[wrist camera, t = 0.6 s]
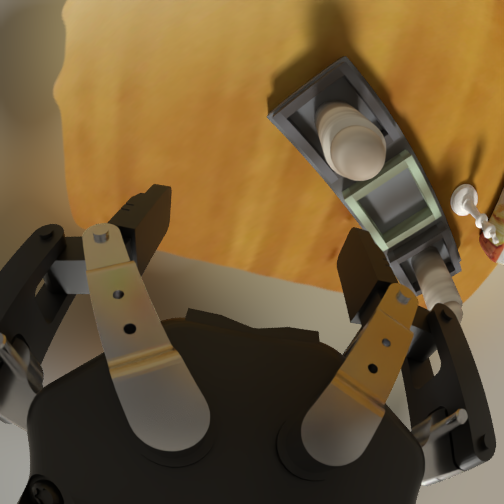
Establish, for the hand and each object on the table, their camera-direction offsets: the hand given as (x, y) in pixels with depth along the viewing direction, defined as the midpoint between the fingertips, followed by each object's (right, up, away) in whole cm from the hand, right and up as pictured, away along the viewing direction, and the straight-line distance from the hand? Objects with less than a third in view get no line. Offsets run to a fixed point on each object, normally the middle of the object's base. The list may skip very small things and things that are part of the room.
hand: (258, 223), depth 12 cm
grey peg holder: (+17, +6, +20) cm, 27 cm away
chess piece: (+30, +6, +18) cm, 35 cm away
